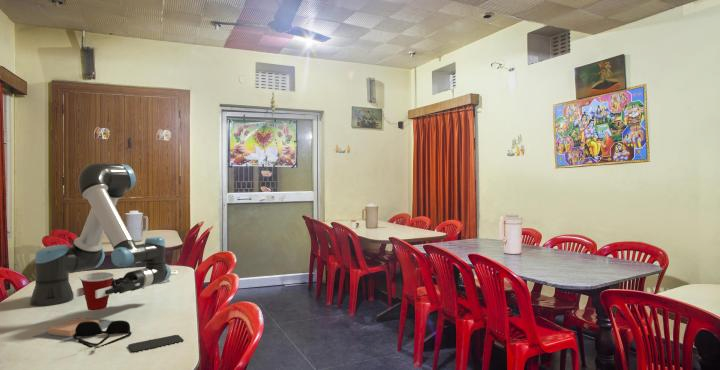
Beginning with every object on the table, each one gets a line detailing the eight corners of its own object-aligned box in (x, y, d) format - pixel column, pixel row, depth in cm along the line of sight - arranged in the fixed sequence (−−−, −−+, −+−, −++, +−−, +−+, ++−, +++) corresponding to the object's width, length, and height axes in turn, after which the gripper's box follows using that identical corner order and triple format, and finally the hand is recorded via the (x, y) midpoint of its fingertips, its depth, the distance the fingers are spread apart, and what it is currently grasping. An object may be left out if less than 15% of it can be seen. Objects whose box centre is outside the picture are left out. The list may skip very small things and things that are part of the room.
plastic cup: (86, 314, 146) (86, 279, 146) (74, 309, 153) (74, 275, 153) (119, 307, 155) (119, 274, 155) (107, 302, 162) (107, 270, 162)
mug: (152, 284, 215) (152, 268, 215) (152, 280, 224) (152, 265, 224) (178, 281, 220) (178, 266, 220) (177, 278, 229) (177, 263, 229)
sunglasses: (57, 354, 125) (58, 338, 125) (74, 336, 139) (75, 320, 139) (122, 351, 130) (123, 335, 130) (132, 333, 144) (133, 318, 144)
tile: (78, 324, 151) (48, 335, 140) (78, 318, 151) (48, 328, 140) (98, 326, 149) (69, 337, 138) (98, 320, 149) (69, 330, 138)
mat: (32, 339, 139) (32, 336, 139) (86, 320, 158) (86, 318, 158) (70, 343, 134) (70, 341, 134) (121, 323, 154) (121, 321, 154)
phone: (184, 340, 136) (132, 351, 127) (184, 343, 136) (132, 354, 127) (177, 334, 142) (127, 344, 133) (177, 336, 142) (127, 347, 133)
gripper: (158, 290, 168) (110, 306, 147) (117, 287, 174) (64, 302, 152) (158, 271, 168) (110, 284, 147) (117, 268, 174) (64, 281, 152)
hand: (87, 293), depth 149 cm, fingers closed on plastic cup, 8 cm apart
